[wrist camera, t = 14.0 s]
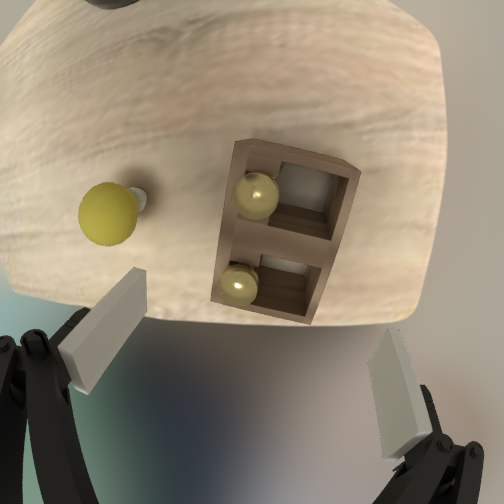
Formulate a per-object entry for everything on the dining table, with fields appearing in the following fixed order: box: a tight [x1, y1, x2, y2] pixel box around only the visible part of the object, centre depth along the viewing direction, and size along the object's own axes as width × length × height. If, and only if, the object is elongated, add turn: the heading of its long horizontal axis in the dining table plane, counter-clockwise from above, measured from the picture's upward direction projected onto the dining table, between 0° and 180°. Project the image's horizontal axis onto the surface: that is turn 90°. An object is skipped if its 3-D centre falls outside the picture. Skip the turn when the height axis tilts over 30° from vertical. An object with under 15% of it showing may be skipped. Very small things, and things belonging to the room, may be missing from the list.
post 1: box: [231, 171, 280, 220], centre depth 25 cm, size 3×3×10 cm
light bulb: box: [78, 182, 147, 246], centre depth 28 cm, size 7×7×10 cm
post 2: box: [217, 262, 259, 306], centre depth 28 cm, size 3×3×10 cm
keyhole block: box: [210, 139, 361, 325], centre depth 27 cm, size 15×10×8 cm, turn 169°
